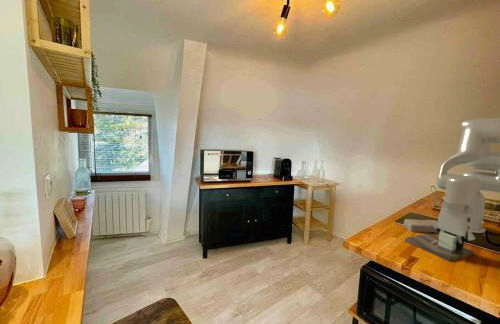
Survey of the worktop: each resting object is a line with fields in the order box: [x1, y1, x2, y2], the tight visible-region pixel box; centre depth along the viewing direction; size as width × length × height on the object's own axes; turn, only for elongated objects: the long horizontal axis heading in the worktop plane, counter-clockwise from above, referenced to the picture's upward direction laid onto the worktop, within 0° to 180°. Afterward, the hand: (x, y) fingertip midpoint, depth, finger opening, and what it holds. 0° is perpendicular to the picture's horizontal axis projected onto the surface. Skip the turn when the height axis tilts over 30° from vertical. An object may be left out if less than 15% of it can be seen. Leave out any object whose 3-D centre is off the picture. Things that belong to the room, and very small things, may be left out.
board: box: [404, 232, 474, 262], centre depth 100 cm, size 16×18×2 cm
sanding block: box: [438, 232, 465, 254], centre depth 95 cm, size 8×5×7 cm, turn 110°
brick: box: [403, 218, 439, 234], centre depth 119 cm, size 16×8×5 cm, turn 82°
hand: (450, 247), depth 96 cm, fingers closed on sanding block, 5 cm apart
